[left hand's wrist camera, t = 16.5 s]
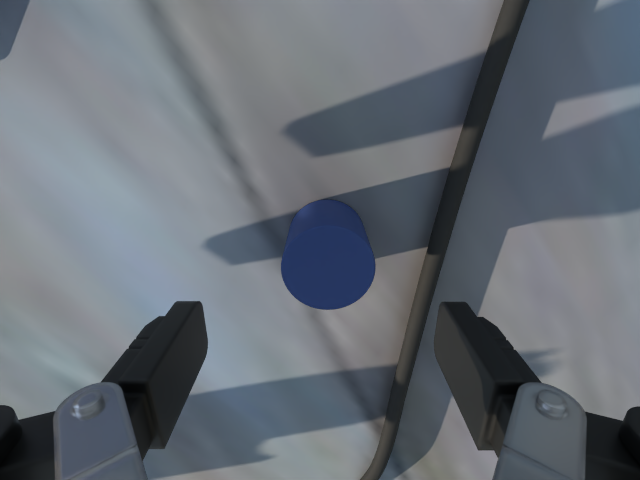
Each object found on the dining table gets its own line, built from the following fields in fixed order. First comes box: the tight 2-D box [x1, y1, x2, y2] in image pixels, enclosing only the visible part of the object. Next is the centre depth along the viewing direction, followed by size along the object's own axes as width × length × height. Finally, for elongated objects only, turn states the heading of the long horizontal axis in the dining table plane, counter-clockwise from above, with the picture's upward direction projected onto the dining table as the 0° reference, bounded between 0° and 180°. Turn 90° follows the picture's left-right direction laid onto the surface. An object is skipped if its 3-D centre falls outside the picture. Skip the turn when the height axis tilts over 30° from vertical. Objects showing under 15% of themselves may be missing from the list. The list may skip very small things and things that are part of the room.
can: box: [281, 200, 375, 310], centre depth 17 cm, size 4×4×4 cm
